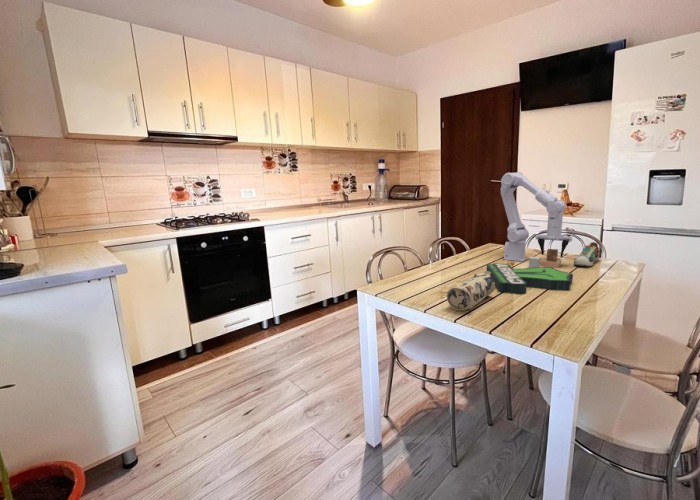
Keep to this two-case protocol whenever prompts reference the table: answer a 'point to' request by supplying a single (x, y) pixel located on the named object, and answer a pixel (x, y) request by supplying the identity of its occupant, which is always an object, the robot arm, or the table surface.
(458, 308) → the pencil case
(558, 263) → the terracotta tile
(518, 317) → the table surface
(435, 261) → the table surface
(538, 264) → the light grey block
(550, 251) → the walnut block
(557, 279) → the emblem
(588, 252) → the sneaker
